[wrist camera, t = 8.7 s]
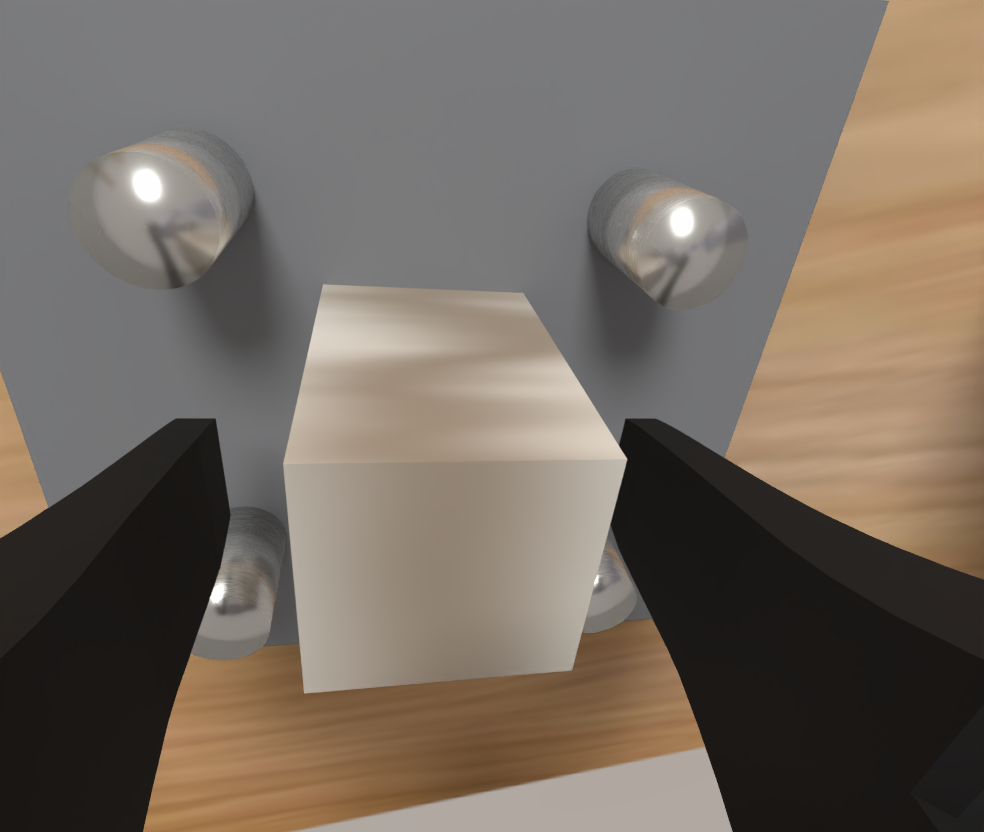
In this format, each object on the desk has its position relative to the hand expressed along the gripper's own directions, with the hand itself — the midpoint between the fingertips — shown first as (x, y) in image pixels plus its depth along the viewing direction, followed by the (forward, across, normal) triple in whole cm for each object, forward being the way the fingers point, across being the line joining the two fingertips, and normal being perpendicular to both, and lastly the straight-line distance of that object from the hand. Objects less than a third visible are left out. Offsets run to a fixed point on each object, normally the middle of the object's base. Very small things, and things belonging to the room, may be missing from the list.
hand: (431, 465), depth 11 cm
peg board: (+4, 0, 0) cm, 4 cm away
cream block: (+3, 0, 0) cm, 3 cm away
